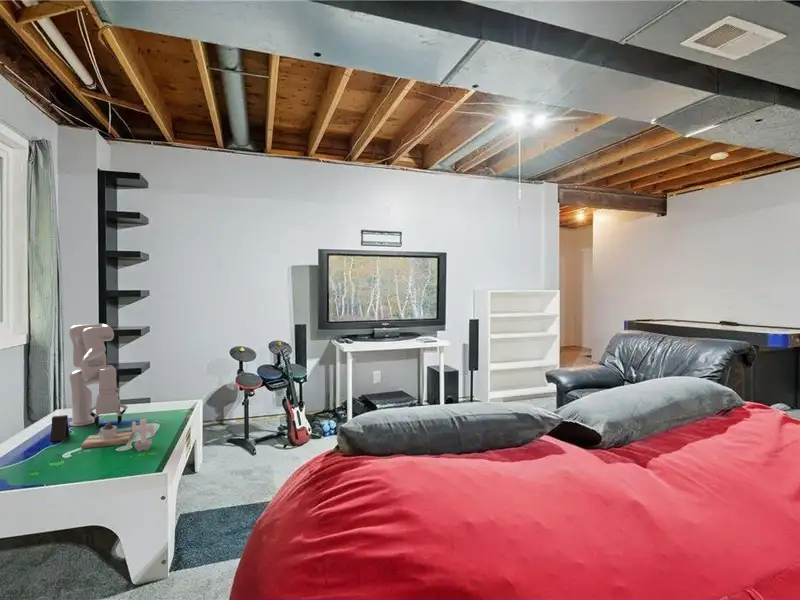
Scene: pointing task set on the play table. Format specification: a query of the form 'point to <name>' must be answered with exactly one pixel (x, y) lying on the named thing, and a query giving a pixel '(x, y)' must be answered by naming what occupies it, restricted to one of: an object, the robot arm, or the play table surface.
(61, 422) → the phone stand
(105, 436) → the steel ring
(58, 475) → the play table surface
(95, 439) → the post stand
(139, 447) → the figurine
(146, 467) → the play table surface
